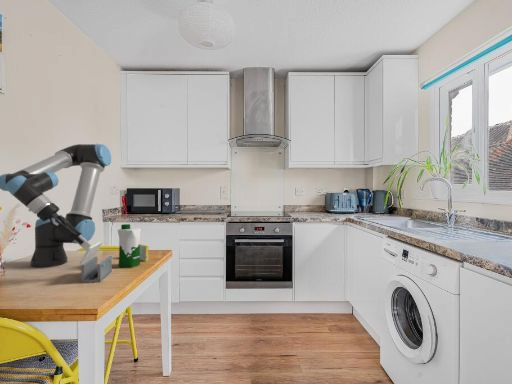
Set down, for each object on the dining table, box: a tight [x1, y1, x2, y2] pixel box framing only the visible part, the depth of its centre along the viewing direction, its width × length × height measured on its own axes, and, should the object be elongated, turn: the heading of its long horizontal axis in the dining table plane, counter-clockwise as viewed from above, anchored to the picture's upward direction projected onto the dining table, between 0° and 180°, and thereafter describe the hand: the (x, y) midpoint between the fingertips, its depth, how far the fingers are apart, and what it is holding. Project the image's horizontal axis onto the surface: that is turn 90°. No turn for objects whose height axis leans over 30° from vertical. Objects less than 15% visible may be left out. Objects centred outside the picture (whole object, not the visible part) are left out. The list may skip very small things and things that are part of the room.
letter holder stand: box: [80, 255, 113, 284], centre depth 128 cm, size 16×8×7 cm, turn 11°
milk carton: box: [117, 223, 142, 269], centre depth 147 cm, size 9×9×20 cm
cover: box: [79, 240, 104, 265], centre depth 128 cm, size 16×7×1 cm
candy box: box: [140, 244, 150, 263], centre depth 161 cm, size 16×2×8 cm, turn 58°
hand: (89, 248), depth 128 cm, fingers closed
